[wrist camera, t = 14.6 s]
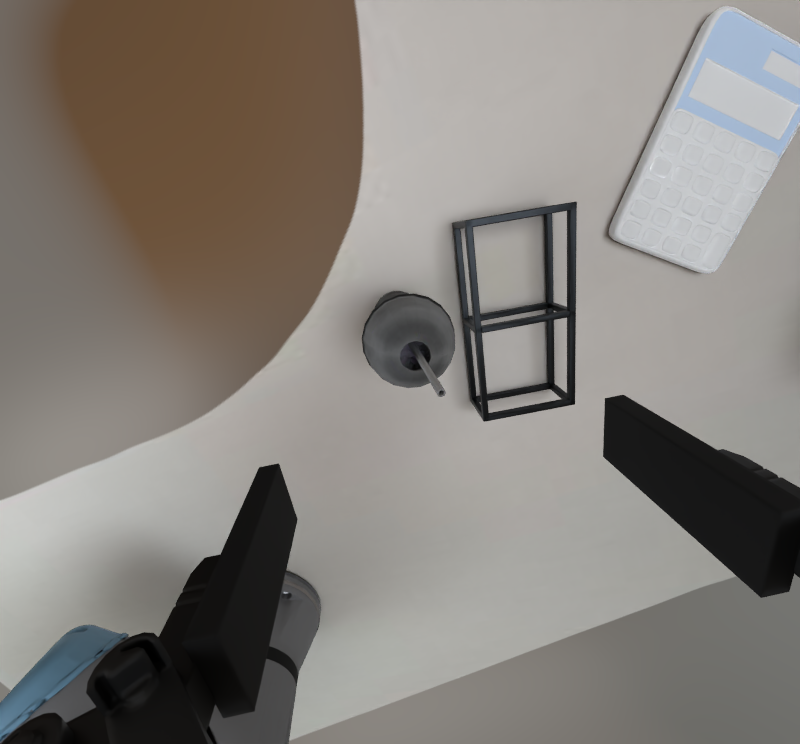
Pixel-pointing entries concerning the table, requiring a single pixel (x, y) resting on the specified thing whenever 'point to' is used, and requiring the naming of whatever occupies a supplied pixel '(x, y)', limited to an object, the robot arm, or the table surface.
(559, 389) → the rack
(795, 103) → the calculator
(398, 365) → the beverage cup
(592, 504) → the table surface
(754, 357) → the table surface
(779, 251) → the table surface
